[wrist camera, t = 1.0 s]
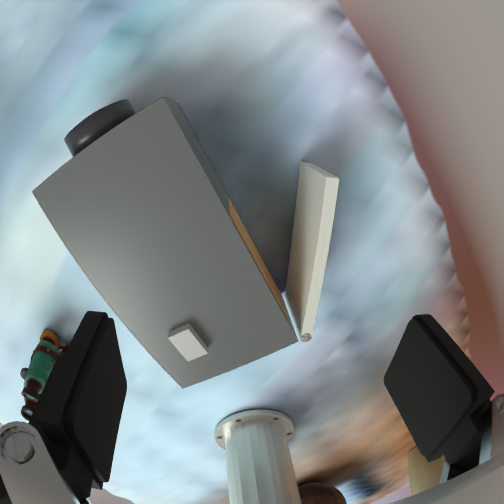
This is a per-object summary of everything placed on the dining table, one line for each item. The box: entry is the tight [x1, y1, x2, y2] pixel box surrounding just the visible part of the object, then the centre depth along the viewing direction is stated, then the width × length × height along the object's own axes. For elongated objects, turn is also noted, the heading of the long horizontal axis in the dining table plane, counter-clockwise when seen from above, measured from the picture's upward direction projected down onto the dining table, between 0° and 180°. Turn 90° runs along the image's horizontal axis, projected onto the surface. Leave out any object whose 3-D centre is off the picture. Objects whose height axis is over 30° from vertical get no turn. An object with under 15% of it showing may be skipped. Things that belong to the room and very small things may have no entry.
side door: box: [285, 162, 339, 342], centre depth 28 cm, size 14×2×7 cm, turn 176°
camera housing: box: [32, 97, 298, 389], centre depth 26 cm, size 24×12×9 cm, turn 26°
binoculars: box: [20, 330, 69, 421], centre depth 31 cm, size 9×11×10 cm
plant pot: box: [408, 446, 445, 496], centre depth 51 cm, size 15×15×16 cm
